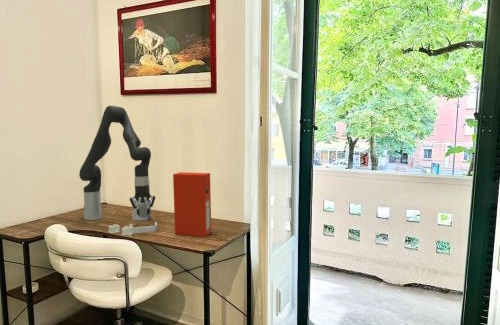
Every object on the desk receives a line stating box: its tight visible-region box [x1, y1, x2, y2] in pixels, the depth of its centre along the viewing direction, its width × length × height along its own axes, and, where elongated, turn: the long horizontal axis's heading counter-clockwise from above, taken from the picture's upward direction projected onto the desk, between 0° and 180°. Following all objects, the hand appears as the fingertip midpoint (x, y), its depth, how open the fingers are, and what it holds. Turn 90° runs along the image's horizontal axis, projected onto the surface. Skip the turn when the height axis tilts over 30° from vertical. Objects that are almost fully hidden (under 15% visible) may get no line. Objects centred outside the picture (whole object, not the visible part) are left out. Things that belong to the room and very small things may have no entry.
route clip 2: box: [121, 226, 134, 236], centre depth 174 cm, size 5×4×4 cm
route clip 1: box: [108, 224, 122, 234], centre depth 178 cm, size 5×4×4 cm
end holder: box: [129, 221, 158, 235], centre depth 181 cm, size 14×9×3 cm, turn 107°
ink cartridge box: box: [132, 199, 152, 222], centre depth 203 cm, size 10×6×14 cm, turn 78°
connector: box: [139, 204, 147, 218], centre depth 183 cm, size 4×11×6 cm, turn 18°
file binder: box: [172, 171, 212, 238], centre depth 173 cm, size 8×17×32 cm, turn 75°
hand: (143, 215), depth 181 cm, fingers closed on connector, 4 cm apart
